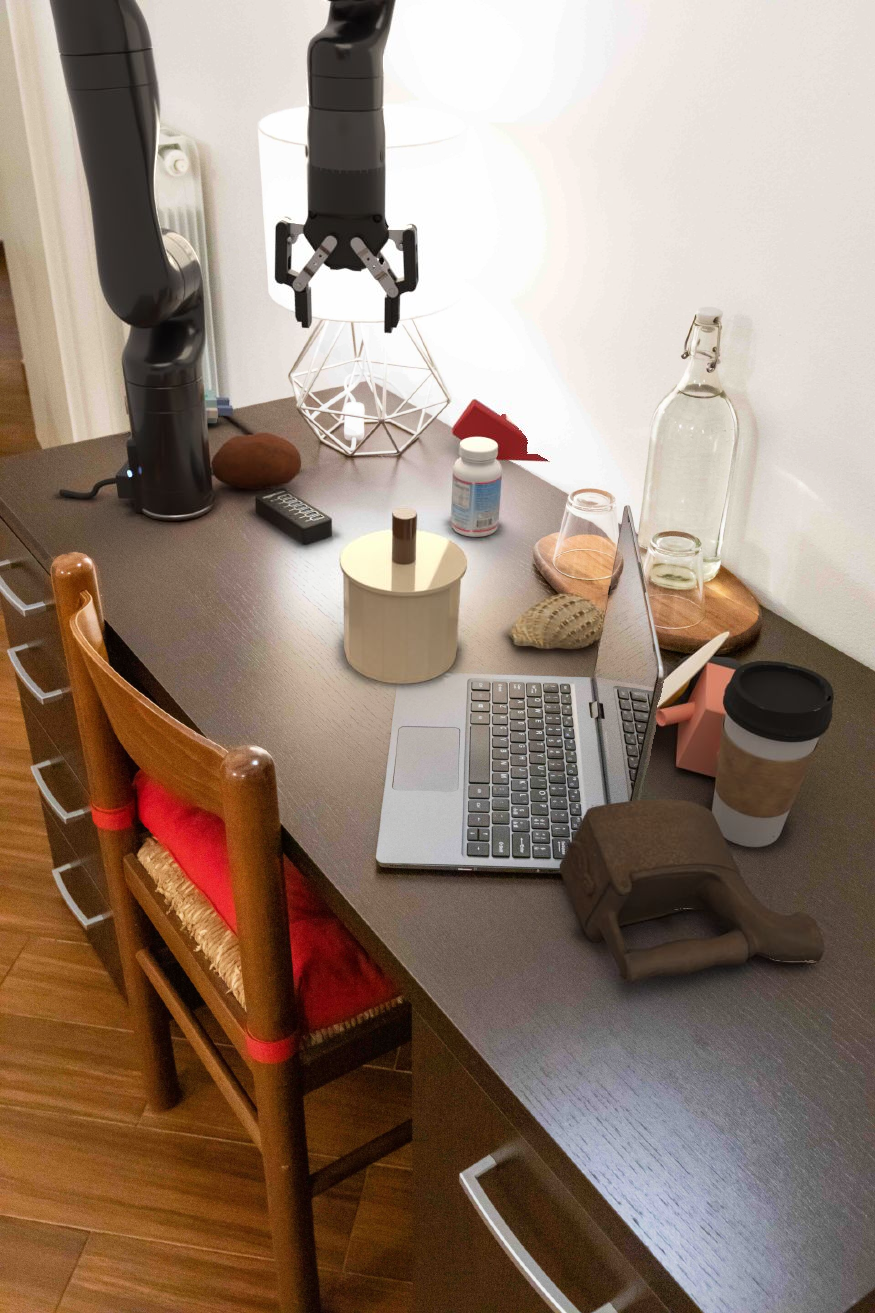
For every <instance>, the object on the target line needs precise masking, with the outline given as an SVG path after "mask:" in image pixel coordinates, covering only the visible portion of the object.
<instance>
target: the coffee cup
mask: <svg viewBox="0 0 875 1313" xmlns="http://www.w3.org/2000/svg"><path fill="white" fill-rule="evenodd" d="M834 698H835V694H834V689H833V687H832V685H831V683H830V681H829V680H828V679H827V678H826V677H824V676H823V675H821V674H819V673H817V672H816V671H814V670H811V669H808V668H806V667H804V666H799V665H796V664H793V663H788V662H781V661H775V660H755V661H750V662H747V663H743V664H742V666H740V667H738V668H737V669H736V670H735V671H734V673H733V676H732V678H731V680H730V682H729V683H728V684H727V686H726V688H725V692H724V696H723V705H724V709H725V711H726V714H725V716H724V718H723V720H722V728H721V737H720V746H719V754H718V763H717V772H716V777H715V782H714V783H715V784H714V793H713V800H712V805H711V812H712V813H713V815H714V817H715V819H716V821H717V823H718V825H719V828H720V830H721V832H722V834H723V837H724V839H725V840H727V841H729V842H731V843H733V844H736V845H740V846H741V847H747V848H762V847H766V846H769V845H772V844H773V843H774V842H776V841H777V840H778V838H779V837H780V835H781V833H782V831H783V828H784V826H785V823H786V821H787V818H788V816H789V813H790V810H791V809H792V807H793V804H794V802H795V800H796V798H797V796H798V793H799V791H800V789H801V787H802V784H803V782H804V780H805V778H806V775H807V773H808V771H809V768H810V767H811V764H812V762H813V759H814V757H815V755H816V753H817V750H818V748H819V745H820V737H821V736H822V735H823V734H825V732H827V731H828V729H829V727H830V725H831V721H832V718H833V706H834V700H835V699H834ZM773 836H774V837H773Z"/></svg>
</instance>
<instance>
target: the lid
mask: <svg viewBox="0 0 875 1313" xmlns="http://www.w3.org/2000/svg"><path fill="white" fill-rule="evenodd" d="M339 568H340V570H341V572H342V575H343V574H344V575H345V576H346V577H347V578H348V579H349V580H350V581H351V582H353V583H354V584H356V585H358V586H360V587H362V588H364V589H367V590H369V591H372V592H376V593H380V594H386V595H394V596H418V595H426V594H431V593H435V592H439V591H442V590H444V589H447V588H449V587H451V586H453V585H454V584H456V583H457V582H458V581H459V580H461V581H462V579H463V577H464V576H465V574H466V572H467V569H468V559H467V555H466V554H465V551H464V550H463V549H462V548H461V547H460V546H459V545H458V544H456V543H455V542H453V541H452V540H450V539H448V538H447V537H444V536H442V535H439V534H436V533H433V532H429V531H424V530H418V513H417V511H416V510H414V509H412V508H406V507H405V508H397V509H395V510H393V511H392V514H391V529H384V530H378V531H373V532H370V533H367V534H364V535H361V536H359V537H356V538H355V539H353V540H352V541H350V542H348V544H346V545H345V546H344V548H343V549H342V551H341V553H340V556H339Z"/></svg>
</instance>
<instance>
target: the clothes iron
mask: <svg viewBox="0 0 875 1313" xmlns="http://www.w3.org/2000/svg"><path fill="white" fill-rule="evenodd" d="M566 845H567V849H566V851H565V853H564V855H563V857H562V859H561V860H560V862H559V872H560V874H561V877H562V879H563V881H564V883H565V886H566V889H567V892H568V894H569V897H570V899H571V903H572V904H573V907H574V910H575V912H576V914H577V917H578V919H579V922H580V924H581V927H582V929H583V931H584V933H585V935H586V937H587V938H588V939H590V940H591V941H593V942H599V941H601V940H602V939H604V941H605V944H606V945H607V948H608V949H609V951H610V953H611V956H612V957H613V959H614V962H615V964H616V965H617V968H618V971H619V975H618V979H619V980H620V981H621V982H622V983H624V984H625V985H629V984H635V983H637V982H640V981H642V980H645V979H648V978H652V977H658V976H680V975H686V974H690V973H695V972H698V971H701V970H704V969H707V968H709V967H713V966H718V965H719V966H720V965H721V966H722V965H743V964H744V963H746V962H747V960H748V959H750V958H752V957H754V956H755V954H756V955H758V954H759V955H758V956H760V955H761V956H760V957H762V956H764V957H763V958H765V957H767V958H771V959H774V960H780V961H805V960H807V961H809V960H814V961H818V962H819V961H821V959H822V957H823V955H824V951H825V942H824V936H823V934H822V931H821V928H820V927H819V924H818V923H817V921H816V920H815V919H814V918H813V917H812V916H811V915H810V914H809V913H805V912H802V911H801V912H800V911H797V912H794V913H792V914H790V915H789V914H787V915H786V914H780V913H777V912H775V911H773V910H771V909H769V908H768V907H766V906H765V905H764V904H762V903H761V902H760V901H759V900H758V898H757V897H756V896H755V895H754V893H753V892H752V891H751V890H750V888H749V886H748V884H747V883H746V881H745V879H744V878H743V877H742V876H741V872H740V869H739V867H738V865H737V863H736V861H735V859H734V857H733V855H732V852H731V849H730V847H729V845H728V843H727V841H726V838H724V837H723V834H722V832H721V830H720V828H719V825H718V823H717V821H716V819H715V817H714V815H713V813H712V810H710V809H709V808H707V807H705V806H704V805H702V804H699V803H697V802H693V801H688V800H684V799H683V800H682V799H668V798H667V799H663V798H662V799H661V798H659V799H658V798H657V799H656V798H654V799H653V798H651V799H641V800H640V799H639V800H627V801H620V802H613V803H607V804H602V805H596V806H592V807H590V808H588V809H586V812H585V813H584V815H583V817H582V819H581V821H580V824H579V826H578V827H577V829H576V830H575V833H574V835H573V838H572V840H571V841H570V842H568V843H567V844H566ZM680 908H681V909H680ZM683 908H693V909H692V910H697V909H698V911H703V912H708V913H710V914H712V915H713V916H714V917H715V919H716V920H718V922H719V923H720V925H721V926H722V927H723V929H724V930H725V932H726V933H724V934H721V935H718V936H715V937H710V938H686V939H685V938H684V939H677V940H672V941H668V942H664V943H661V944H657V945H655V946H652V947H647V948H627V946H626V944H625V941H624V938H623V935H622V931H621V928H620V927H623V926H626V925H627V926H628V925H631V924H636V923H639V922H644V921H649V920H653V919H657V918H660V917H665V916H667V915H671V914H674V913H675V914H676V913H679V912H684V911H688V910H689V911H690V909H683ZM675 909H678V910H675ZM767 958H766V959H767ZM801 963H803V964H806V965H815V964H816V963H807V962H801ZM801 963H800V964H801Z"/></svg>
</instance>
